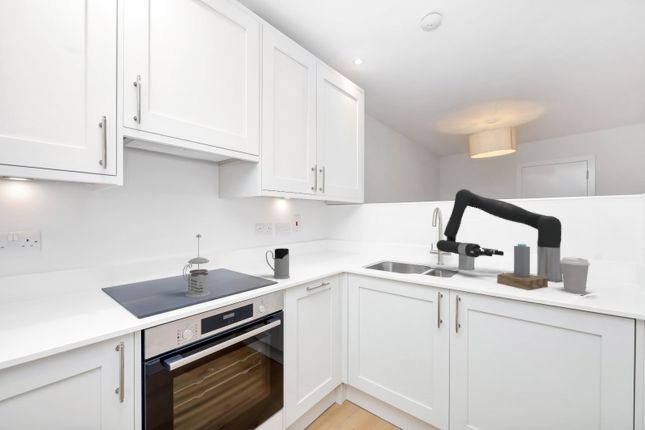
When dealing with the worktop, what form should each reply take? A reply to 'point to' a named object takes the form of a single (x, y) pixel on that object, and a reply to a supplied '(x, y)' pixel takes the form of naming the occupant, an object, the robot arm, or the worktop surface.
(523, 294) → the worktop surface
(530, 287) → the brown wooden block
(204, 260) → the french press
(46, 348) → the worktop surface
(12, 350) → the worktop surface
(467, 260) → the skincare box
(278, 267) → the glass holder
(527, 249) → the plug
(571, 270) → the coffee cup
